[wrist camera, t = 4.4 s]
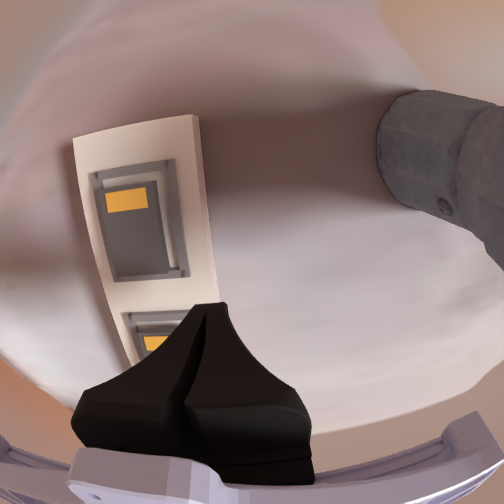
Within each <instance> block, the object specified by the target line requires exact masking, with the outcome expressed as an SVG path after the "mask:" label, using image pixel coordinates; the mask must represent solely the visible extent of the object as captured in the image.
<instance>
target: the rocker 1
mask: <svg viewBox="0 0 504 504" xmlns="http://www.w3.org/2000/svg"><path fill="white" fill-rule="evenodd" d="M99 197H100V203H101V209H102V214H103V219H104V224H105V229H106V234H107V239H108V243H109V247H110V252H111V256H112V260H113V264H114V268H115V272H116V276H117V277H127V276H141V275H154V274H168V272H169V270H170V263H169V258H168V252H167V247H166V241H165V235H164V229H163V223H162V216H161V210H160V203H159V196H158V189H157V181H156V180H152V181H145V182H138V183H132V184H126V185H120V186H114V187H108V188H103V189H101V190H99Z"/></svg>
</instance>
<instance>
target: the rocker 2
mask: <svg viewBox="0 0 504 504" xmlns="http://www.w3.org/2000/svg"><path fill="white" fill-rule="evenodd" d="M175 328H176V327H173V328H141V329H140V330H139V332H138V337H139V341H140V345H141V349H142V353H143V356H144V358H146V357H147V356H148V355H149V354H151V353H152V352H153V351H154V350H155V349H156V348H157V347H159V346H160V345H161V344H162V343H163V342H164V341H165V340H166V338H167V337H168V336H169V335H170V334H171V333H172V332H173V331H174V330H175Z"/></svg>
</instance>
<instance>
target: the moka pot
mask: <svg viewBox="0 0 504 504" xmlns="http://www.w3.org/2000/svg"><path fill="white" fill-rule="evenodd" d="M376 152H377V165H378V169H379V171H380V174H381V176H382V178H383V180H384V182H385V183H386V185H387V187H388V188H389V190H390V191H391V192H392V194H393V195H394V197H395V198H396V199H397V200H398V201H399V202H400V203H402V204H405V205H407V206H410V207H413V208H415V209H418V210H421V211H423V212H426V213H428V214H431V215H433V216H435V217H438V218H441V219H443V220H445V221H448V222H450V223H453V224H455V225H457V226H460V227H462V228H464V229H467V230H469V231H471V232H472V233H473V234H474V235H475V236H476V237H477V238H478V239H480V240H481V241H482V242H484V245H485V249H486V252H487V254H488V255H489V256H490V257H491V258H492V259H493V260H494V261H495V262H496V263H497V264H498V265H499V266H500V268H501V269H502V270H503V271H504V106H498V105H496V104H494V103H490V102H487V101H482V100H478V99H473V98H468V97H465V96H459V95H455V94H450V93H445V92H440V91H436V90H424V91H418V92H414V93H409V94H405V95H401V96H399V97H398V98H397V99H396V100H395V101H394V102H393V103H392V105H391V106H390V107H389V109H388V111H387V112H386V114H385V116H384V117H383V119H382V120H381V122H380V125H379V129H378V135H377V150H376Z"/></svg>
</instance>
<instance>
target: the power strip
mask: <svg viewBox="0 0 504 504" xmlns="http://www.w3.org/2000/svg"><path fill="white" fill-rule="evenodd" d="M73 146H74V154H75V162H76V169H77V175H78V182H79V188H80V193H81V199H82V204H83V209H84V214H85V219H86V223H87V228H88V232H89V236H90V241H91V245H92V249H93V253H94V256H95V260H96V264H97V268H98V271H99V275H100V278H101V281H102V285H103V288H104V291H105V295H106V298H107V301H108V304H109V307H110V310H111V313H112V316H113V319H114V322H115V324H116V327H117V330H118V333H119V335H120V338H121V341H122V343H123V346H124V349H125V351H126V354H127V356H128V359H129V361H130V364H131V366H132V367H133V366H134V365H136V364H137V363H139V362H140V361H142V360H143V359H144V356H143V353H142V349H141V345H140V341H139V337H138V332H139V330H140V329H141V328H173V327H177V326H178V325H179V324H180V322H181V321H182V320H183V319H184V317H185V316H186V315H187V314H188V312H189V311H190V310H191V308H192V307H193V306H194V305H195V304H205V303H218V302H220V298H219V291H218V284H217V277H216V270H215V262H214V254H213V247H212V239H211V230H210V222H209V214H208V205H207V196H206V187H205V177H204V168H203V158H202V147H201V136H200V125H199V117H197V116H195V115H193V114H188V115H181V116H174V117H168V118H162V119H156V120H150V121H145V122H140V123H135V124H130V125H125V126H120V127H116V128H111V129H107V130H103V131H99V132H95V133H91V134H87V135H83V136H80V137H76V138H73ZM152 180H156V181H157V189H158V196H159V203H160V210H161V216H162V223H163V229H164V235H165V241H166V247H167V252H168V258H169V263H170V270H169V272H168V274H154V275H141V276H127V277H117V276H116V272H115V268H114V264H113V260H112V256H111V252H110V247H109V243H108V239H107V234H106V229H105V224H104V219H103V214H102V209H101V203H100V197H99V190H101V189H103V188H108V187H114V186H120V185H126V184H132V183H138V182H145V181H152Z"/></svg>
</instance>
